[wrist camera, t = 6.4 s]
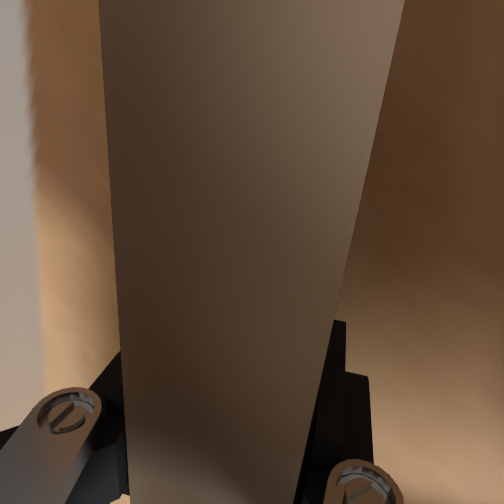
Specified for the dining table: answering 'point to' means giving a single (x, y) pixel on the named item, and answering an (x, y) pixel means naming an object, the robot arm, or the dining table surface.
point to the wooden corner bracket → (233, 226)
